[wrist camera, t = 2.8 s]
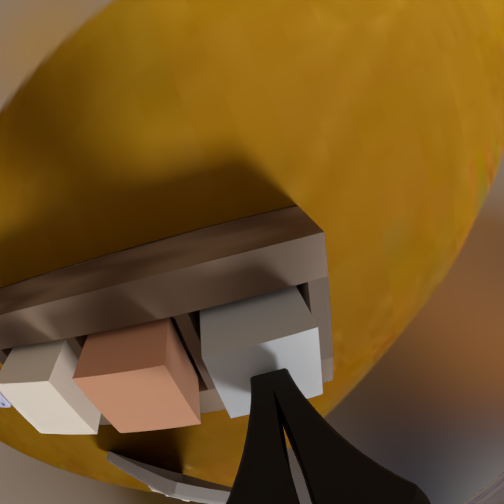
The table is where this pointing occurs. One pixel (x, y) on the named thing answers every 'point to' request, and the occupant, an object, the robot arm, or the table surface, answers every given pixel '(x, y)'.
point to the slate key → (260, 345)
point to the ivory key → (48, 389)
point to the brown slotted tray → (176, 287)
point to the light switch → (172, 482)
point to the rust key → (140, 377)
